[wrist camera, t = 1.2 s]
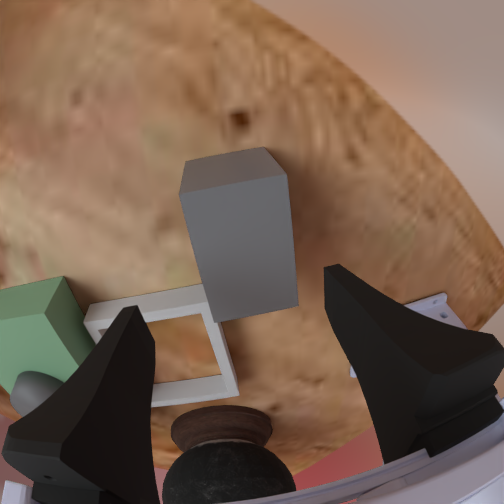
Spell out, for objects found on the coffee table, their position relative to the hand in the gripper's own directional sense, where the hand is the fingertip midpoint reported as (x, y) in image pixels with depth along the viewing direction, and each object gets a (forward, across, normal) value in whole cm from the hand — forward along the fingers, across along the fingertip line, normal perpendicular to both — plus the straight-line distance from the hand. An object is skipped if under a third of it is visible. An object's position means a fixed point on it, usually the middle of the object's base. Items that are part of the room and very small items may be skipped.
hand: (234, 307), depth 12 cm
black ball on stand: (+9, +5, +25) cm, 27 cm away
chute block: (+8, -1, 0) cm, 9 cm away
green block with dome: (+8, +12, +10) cm, 17 cm away
